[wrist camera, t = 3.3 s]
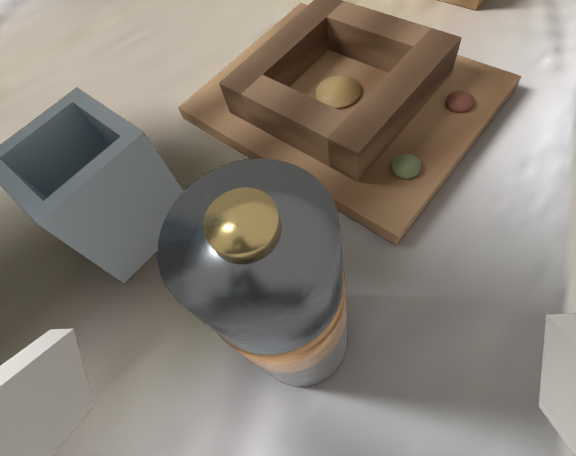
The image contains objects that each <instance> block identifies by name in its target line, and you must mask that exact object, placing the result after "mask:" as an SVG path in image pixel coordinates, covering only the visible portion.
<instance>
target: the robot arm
mask: <svg viewBox="0 0 576 456" xmlns="http://www.w3.org/2000/svg"><path fill="white" fill-rule="evenodd" d="M94 406H95V405H94V402H93V398H92V394H91V391H90V387H89V383H88V380H87V376H86V372H85V369H84V365H83V361H82V358H81V354H80V350H79V347H78V343H77V339H76V336H75V332H74V329H50V330H49V331H48V332H46V333H45V334H43V335H42V336H41V337H39V338H38V339H37V340H35V341H34V342H32V343H31V344H30V345H28V346H27V347H26V348H24V349H23V350H21V351H20V352H19V353H17V354H16V355H15V356H13V357H12V358H10V359H9V360H8V361H6V362H5V363H3V364H2V365H1V366H0V456H52V455H53V454H54V453H55V452H56V451H57V449H58V448H59V447H60V446H61V445H62V444H63V442H64V441H65V440H66V439H67V438H68V436H69V435H70V434H71V433H72V432H73V431H74V429H75V428H76V427H77V426H78V425H79V423H80V422H81V421H82V420H83V419H84V418H85V416H86V415H87V414H88V413H89V412H90V411H91V409H92V408H93V407H94ZM539 408H540V409H541V410H542V412H543V413H544V414H545V416H546V417H547V419H548V420H549V421H550V423H551V424H552V426H553V427H554V428H555V430H556V431H557V432H558V434H559V435H560V437H561V438H562V439H563V441H564V442H565V444H566V445H567V446H568V448H569V449H570V451H571V452H572V453H573V455H574V456H576V313H574V314H546V324H545V336H544V348H543V360H542V372H541V384H540V396H539Z"/></svg>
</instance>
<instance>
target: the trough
mask: <svg viewBox="0 0 576 456" xmlns="http://www.w3.org/2000/svg"><path fill="white" fill-rule="evenodd" d="M440 1H444V2H447V3H451V4H455V5H458V6H462V7H466V8H469V9H473V10H477V9H478V7H479V6H480V5H481V4H482V3H483V2H484V1H485V0H440Z"/></svg>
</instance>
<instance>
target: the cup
mask: <svg viewBox="0 0 576 456" xmlns="http://www.w3.org/2000/svg"><path fill="white" fill-rule="evenodd" d="M0 186H1V187H2V188H3V189H4V190H5V191H6V192H7V193H8V194H9V195H10V196H11V197H12V198H13V199H14V200H15V201H16V203H17V204H18V205H19V206H20V207H21V208H22V209H23V210H24V211H25V212H26V213H27V214H28V215H29V216H30V217H31V218H32V219H33V220H34V221H35V222H36V224H38V225H39V226H41V227H42V228H44V229H45V230H47V231H48V232H50V233H51V234H52V235H54V236H55V237H57V238H58V239H60V240H61V241H63V242H64V243H66V244H67V245H68V246H70V247H71V248H73V249H74V250H76V251H77V252H79V253H80V254H82V255H83V256H84V257H86V258H87V259H89V260H90V261H92V262H93V263H95V264H96V265H98V266H99V267H100V268H102V269H103V270H105V271H106V272H108V273H109V274H111V275H112V276H114V277H115V278H116V279H118V280H119V281H121V282H122V283H126V282H127V281H128V280H129V279H130V278H131V277H132V276H133V275H134V274H135V273H136V272H137V271H138V270H139V269H140V268H141V267H142V266H143V265H144V264H145V263H146V262H147V261H148V260H149V259H150V258H151V257H152V256H153V255H154V254H155V253H156V252H157V251H158V240H159V234H160V231H161V228H162V224H163V222H164V220H165V218H166V215H167V213H168V212H169V210H170V208H171V207H172V205H173V204H174V202H175V201H176V200H177V199H178V197H179V196H180V195H181V194H182V193H183V192H184V190H183V189H182V188H181V186H180V185H179V183H178V182H177V180H176V179H175V177H174V176H173V174H172V173H171V171H170V170H169V168H168V167H167V165H166V164H165V162H164V161H163V160H162V158H161V157H160V155H159V154H158V152H157V151H156V149H155V148H154V146H153V145H152V143H151V142H150V140H149V139H148V137H147V136H146V134H145V133H144V132H143V131H141V130H140V129H138V128H137V127H135V126H134V125H132V124H131V123H129V122H128V121H126V120H125V119H124V118H122V117H121V116H119V115H118V114H116V113H115V112H113V111H112V110H110V109H109V108H107V107H106V106H104V105H103V104H101V103H100V102H98V101H97V100H95V99H94V98H92V97H91V96H89V95H88V94H86V93H85V92H83V91H82V90H80V89H79V88H77V87H76V88H75V89H74V90H72V91H71V92H70V93H68V94H67V95H66V96H65V97H63V98H62V99H61V100H59V101H58V102H57V103H55V104H54V105H53V106H51V107H50V108H49V109H47V110H46V111H45V112H43V113H42V114H41V115H39V116H38V117H37V118H35V119H34V120H33V121H31V122H30V123H29V124H27V125H26V126H25V127H23V128H22V129H21V130H19V131H18V132H17V133H15V134H14V135H13V136H11V137H10V138H9V139H7V140H6V141H5V142H3V143H2V144H1V145H0Z"/></svg>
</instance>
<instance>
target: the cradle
mask: <svg viewBox="0 0 576 456" xmlns="http://www.w3.org/2000/svg"><path fill="white" fill-rule="evenodd" d="M461 38H462V37H459V36H455V35H452V34H449V33H446V32H442V31H439V30H436V29H433V28H430V27H426V26H423V25H420V24H417V23H413V22H410V21H407V20H404V19H400V18H397V17H394V16H391V15H387V14H384V13H381V12H378V11H375V10H371V9H368V8H365V7H362V6H358V5H355V4H352V3H349V2H345V1H342V0H314V1H313V2H311V3H310V4H309V5H305V4H302V3H300V4H299V5H298V6H297V7H295V8H294V9H293V10H292V11H291V12H290V13H288V14H287V15H286V16H285V17H284V18H283V19H281V20H280V21H279V22H278V23H277V24H276V25H274V26H273V27H272V28H271V29H270V30H269V31H267V32H266V33H265V34H264V35H263V36H262V37H260V38H259V39H258V40H257V41H256V42H255V43H253V44H252V45H251V46H250V47H249V48H248V49H246V50H245V51H244V52H243V53H242V54H241V55H239V56H238V57H237V58H236V59H235V60H234V61H232V62H231V63H230V64H229V65H228V66H227V67H225V68H224V69H223V70H222V71H221V72H220V73H218V74H217V75H216V76H215V77H214V78H212V79H211V80H210V81H209V82H208V83H207V84H205V85H204V86H203V87H202V88H201V89H200V90H198V91H197V92H196V93H195V94H194V95H193V96H191V97H190V98H189V99H188V100H187V101H186V102H184V103H183V104H182V105H181V106H180V107H179V108H178V109H179V110H180V112H181V114H182V116H183V118H184V119H186V120H187V121H189V122H191V123H192V124H194V125H196V126H198V127H199V128H201V129H203V130H204V131H206V132H208V133H209V134H211V135H213V136H214V137H216V138H218V139H219V140H221V141H223V142H224V143H226V144H228V145H229V146H231V147H233V148H234V149H236V150H238V151H239V152H241V153H243V154H244V155H246V156H248V157H249V158H251V159H260V158H266V159H276V160H280V161H285V162H288V163H291V164H294V165H296V166H298V167H300V168H303V169H304V170H306V171H307V172H309V173H311V174H312V175H313V176H314V177H316V178H317V179H318V180H319V181H320V182H321V183H322V184H323V185H324V187H325V188H326V189H327V191H328V192H329V194H330V195H331V197H332V199H333V201H334V204H335V206H336V209H337V210H338V211H339V212H341V213H343V214H344V215H346V216H348V217H349V218H351V219H353V220H354V221H356V222H358V223H359V224H361V225H363V226H364V227H366V228H368V229H369V230H371V231H373V232H374V233H376V234H378V235H379V236H381V237H383V238H384V239H386V240H388V241H389V242H391V243H393V244H394V245H397V244H398V242H399V241H400V240H401V238H402V237H403V236H404V234H405V233H406V232H407V230H408V229H409V228H410V227H411V225H412V224H413V223H414V221H415V220H416V219H417V217H418V216H419V215H420V213H421V212H422V211H423V210H424V208H425V207H426V206H427V204H428V203H429V202H430V200H431V199H432V198H433V196H434V195H435V194H436V193H437V191H438V190H439V189H440V187H441V186H442V185H443V183H444V182H445V181H446V179H447V178H448V177H449V175H450V174H451V173H452V172H453V170H454V169H455V168H456V166H457V165H458V164H459V162H460V161H461V160H462V158H463V157H464V156H465V155H466V153H467V152H468V151H469V149H470V148H471V147H472V145H473V144H474V143H475V141H476V140H477V139H478V138H479V136H480V135H481V134H482V132H483V131H484V130H485V128H486V127H487V126H488V124H489V123H490V122H491V121H492V119H493V118H494V117H495V115H496V114H497V113H498V111H499V110H500V109H501V107H502V106H503V105H504V104H505V102H506V101H507V100H508V98H509V97H510V96H511V94H512V93H513V92H514V90H515V89H516V87H517V85H518V83H519V80H520V78H521V76H519V75H516V74H513V73H510V72H507V71H504V70H501V69H498V68H495V67H492V66H489V65H486V64H483V63H480V62H477V61H474V60H471V59H468V58H465V57H462V56H459V55H457V53H458V49H459V45H460V42H461Z"/></svg>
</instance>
